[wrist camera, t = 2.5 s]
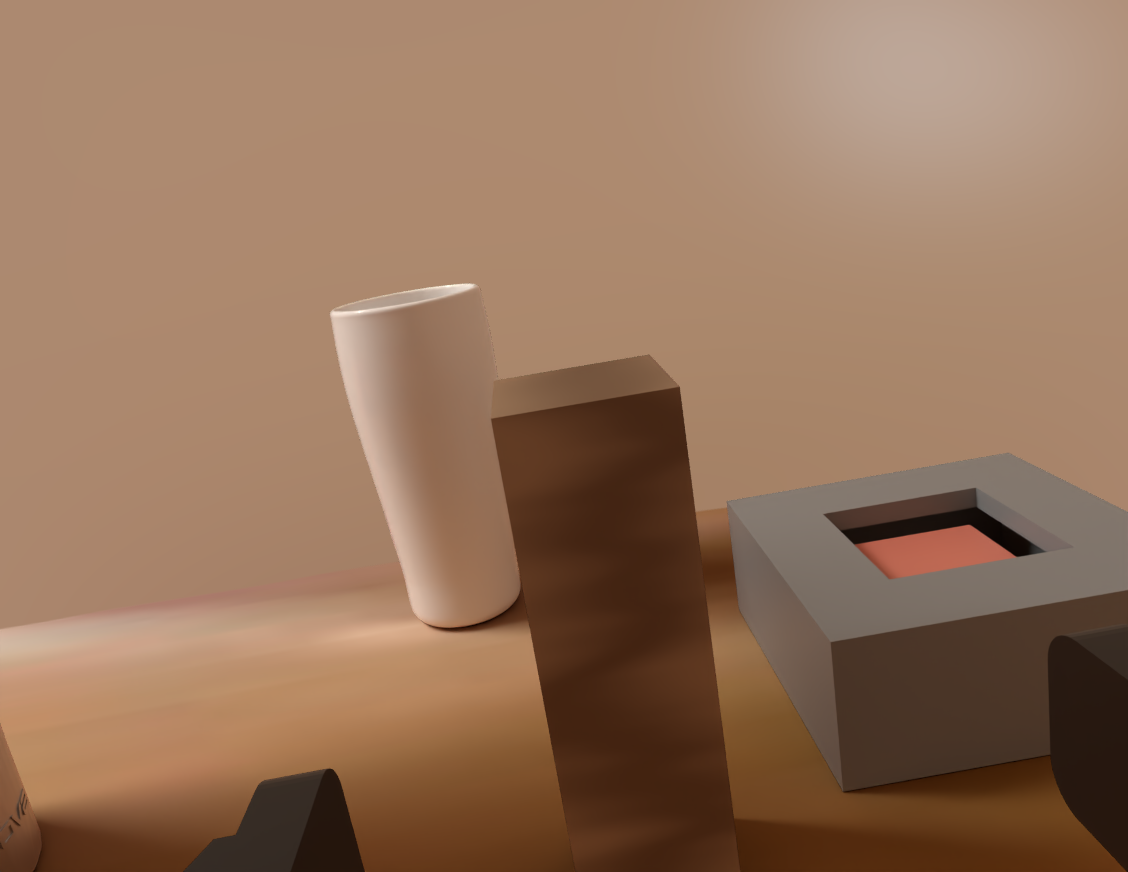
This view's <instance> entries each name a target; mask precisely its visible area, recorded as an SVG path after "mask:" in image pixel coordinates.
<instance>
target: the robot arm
mask: <svg viewBox="0 0 1128 872" xmlns="http://www.w3.org/2000/svg"><path fill="white" fill-rule="evenodd" d="M1048 690H1049V724H1050V755H1051V764H1052V769H1053V773H1054V777H1055V779H1056V782H1057V785H1058V787H1059V790H1060V792H1061V794H1062V796H1063V798H1064V800H1065V802H1066V804H1067V805H1068V807H1069V808H1070V810H1071V811H1072V813H1073V814H1074V815H1075V817H1076V818H1077V819H1078V820H1079V821H1080V822H1081V823H1082V824H1083V825H1084V827H1085V828H1086V829H1087V830H1088V831H1089V832H1090V833H1091V834H1092V835H1093V836H1094V837H1095V838H1096V839H1097V840H1098V841H1099V842H1100V843H1101V845H1102V846H1103V847H1104V848H1105V849H1106V850H1107V851H1108V852H1109V853H1110V854H1111V855H1112V856H1113V857H1114V858H1115V859H1116V860H1117V861H1118V863H1119V864H1120V865H1121V866H1122V867H1123V868H1124V869H1125V870H1126V871H1127V872H1128V624H1119V625H1114V626H1108V627H1103V628H1097V629H1092V630H1087V631H1081V632H1076V633H1070V634H1065V635H1060V636H1057V637H1055V638H1054V639H1053V640H1052V641H1051V643H1050V646H1049V649H1048ZM41 848H42V840H41V831H40V828H39V826H38V823H37V821H36V818H35V815H34V813H33V810H32V807H31V805H30V802H29V800H28V797H27V794H26V792H25V789H24V786H23V784H22V781H21V778H20V776H19V773H18V771H17V768H16V765H15V763H14V760H13V757H12V755H11V752H10V750H9V747H8V744H7V742H6V739H5V736H4V732H3V730H2V727H1V725H0V872H33V870H34V869H35V867H36V865H37V862H38V859H39V855H40V852H41ZM183 872H365V871H364V867H363V864H362V860H361V856H360V853H359V849H358V845H357V841H356V838H355V834H354V830H353V827H352V823H351V819H350V816H349V812H348V808H347V804H346V801H345V797H344V793H343V790H342V786H341V783H340V780H339V778H338V776H337V774H336V773H335V771H334V770H333V769H323V770H318V771H313V772H307V773H302V774H296V775H291V776H286V777H280V778H275V779H269V780H264V781H262V782H261V783H260V784H259V785H258V787H257V789H256V790H255V793H254V795H253V797H252V799H251V802H250V804H249V806H248V808H247V811H246V813H245V815H244V817H243V820H242V822H241V824H240V826H239V829H238V831H237V833H236V835H234V836H228V837H223V838H218V839H214V840H213V841H212V842H211V843H210V844H209V845H208V846H207V847H206V848H205V849H204V850H203V851H202V852H201V853H200V855H199V856H198V857H197V858H196V859H195V860H194V861H193V862H192V863H191V864H190V865H189V866H188V867H187V868H186V869H185V870H184V871H183Z"/></svg>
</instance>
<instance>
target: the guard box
mask: <svg viewBox="0 0 1128 872" xmlns="http://www.w3.org/2000/svg"><path fill="white" fill-rule="evenodd" d="M727 508H728V517H729V526H730V534H731V543H732V552H733V561H734V569H735V578H736V587H737V596H738V604H739V610H740V612H741V614H742V615H743V617H744V619H745V621H746V622H747V624H748V626H749V628H750V629H751V631H752V633H753V635H754V636H755V638H756V640H757V642H758V643H759V645H760V647H761V649H762V650H763V652H764V654H765V656H766V657H767V659H768V661H769V663H770V664H771V666H772V668H773V670H774V671H775V673H776V675H777V677H778V678H779V680H780V682H781V684H782V685H783V687H784V689H785V691H786V692H787V694H788V696H789V698H790V699H791V701H792V703H793V705H794V706H795V708H796V710H797V712H798V713H799V715H800V717H801V719H802V720H803V722H804V724H805V726H806V727H807V729H808V731H809V733H810V734H811V736H812V738H813V740H814V741H815V743H816V745H817V747H818V748H819V750H820V752H821V754H822V755H823V757H824V759H825V761H826V762H827V764H828V766H829V768H830V769H831V771H832V773H833V775H834V776H835V778H836V780H837V782H838V783H839V785H840V787H841V789H842V790H843V792H844V791H849V790H855V789H861V788H866V787H872V786H877V785H883V784H888V783H894V782H900V781H905V780H911V779H916V778H922V777H928V776H933V775H939V774H944V773H950V772H955V771H961V770H967V769H972V768H978V767H983V766H989V765H995V764H1000V763H1006V762H1011V761H1017V760H1022V759H1028V758H1034V757H1039V756H1045V755H1050V724H1049V690H1048V649H1049V646H1050V643H1051V641H1052V640H1053V639H1054V638H1055V637H1057V636H1060V635H1065V634H1070V633H1076V632H1081V631H1087V630H1092V629H1097V628H1103V627H1108V626H1114V625H1119V624H1128V512H1127V511H1125V510H1123V509H1121V508H1119V507H1117V506H1115V505H1113V504H1110V503H1109V502H1107V501H1105V500H1103V499H1101V498H1099V497H1097V496H1095V495H1093V494H1091V493H1088V492H1087V491H1085V490H1082V489H1080V488H1078V487H1076V486H1074V485H1072V484H1070V483H1068V482H1066V481H1064V480H1062V479H1060V478H1058V477H1056V476H1054V475H1052V474H1050V473H1048V472H1046V471H1044V470H1042V469H1040V468H1038V467H1036V466H1034V465H1032V464H1030V463H1028V462H1026V461H1024V460H1022V459H1020V458H1018V457H1016V456H1014V455H1012V454H1010V453H1005V454H999V455H993V456H987V457H981V458H976V459H970V460H964V461H958V462H953V463H947V464H941V465H936V466H929V467H923V468H917V469H912V470H906V471H900V472H894V473H889V474H883V475H877V476H871V477H865V478H860V479H854V480H848V481H842V482H836V483H830V484H824V485H819V486H813V487H807V488H801V489H795V490H789V491H784V492H778V493H772V494H766V495H760V496H755V497H749V498H743V499H737V500H731V501H727ZM965 525H971V526H972V527H974V528H975V529H977V530H978V531H980V532H981V533H982V534H984V535H985V536H987V537H988V538H990V539H991V540H993V541H994V542H995V543H997V544H998V545H1000V546H1001V547H1003V548H1004V549H1006V550H1007V551H1008V552H1010V553H1011V554H1013V555H1014V556H1016V558H1010V559H1004V560H998V561H993V562H987V563H981V564H976V565H970V566H964V567H958V568H953V569H947V570H941V571H935V572H930V573H924V574H918V575H912V576H907V577H901V578H895V579H888V578H887V577H886V576H885V575H884V574H883V573H882V572H881V571H880V570H879V569H878V568H877V567H876V566H875V565H874V564H873V563H872V562H871V561H870V560H869V559H868V558H867V557H866V556H865V555H864V554H863V553H862V552H861V551H860V550H859V549H858V548H857V547H856V546H855V544H861V543H867V542H873V541H879V540H884V539H890V538H896V537H902V536H907V535H913V534H919V533H925V532H930V531H936V530H942V529H948V528H953V527H959V526H965Z"/></svg>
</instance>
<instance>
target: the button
mask: <svg viewBox="0 0 1128 872" xmlns="http://www.w3.org/2000/svg"><path fill="white" fill-rule="evenodd" d="M855 546H856V547H857V548H858V549H859V550H860V551H861V552H862V553H863V554H864V555H865V556H866V557H867V558H868V559H869V560H870V561H871V562H872V563H873V564H874V565H875V566H876V567H877V568H878V569H879V570H880V571H881V572H882V573H883V574H884V575H885V576H886V577H887V578H888V579H895V578H901V577H907V576H912V575H918V574H924V573H930V572H935V571H941V570H947V569H953V568H958V567H964V566H970V565H976V564H981V563H987V562H993V561H998V560H1004V559H1010V558H1016V556H1014V555H1013V554H1011V553H1010V552H1008V551H1007V550H1006V549H1004V548H1003V547H1001V546H1000V545H998V544H997V543H995V542H994V541H993V540H991V539H990V538H988V537H987V536H985V535H984V534H982V533H981V532H980V531H978V530H977V529H975V528H974V527H972V526H971V525H965V526H959V527H953V528H948V529H942V530H936V531H930V532H925V533H919V534H913V535H907V536H902V537H896V538H890V539H884V540H879V541H873V542H867V543H861V544H855Z"/></svg>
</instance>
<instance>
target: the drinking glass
mask: <svg viewBox="0 0 1128 872" xmlns="http://www.w3.org/2000/svg"><path fill="white" fill-rule="evenodd" d="M330 317H331V322H332V328H333V333H334V339H335V345H336V350H337V356H338V360H339V365H340V370H341V374H342V379H343V383H344V387H345V390H346V394H347V398H348V402H349V406H350V409H351V412H352V416H353V419H354V422H355V425H356V428H357V431H358V435H359V438H360V441H361V444H362V447H363V450H364V453H365V456H366V459H367V462H368V465H369V468H370V471H371V475H372V478H373V481H374V483H375V486H376V490H377V493H378V496H379V499H380V502H381V505H382V508H383V512H384V514H385V518H386V521H387V524H388V527H389V530H390V533H391V536H392V540H393V543H394V546H395V549H396V552H397V555H398V559H399V562H400V565H401V568H402V572H403V575H404V578H405V583H406V587H407V592H408V596H409V600H410V604H411V608H412V610H413V612H414V614H415V615H416V617H417V618H418V619H420V620H421V621H422V622H424V623H426V624H429V625H432V626H436V627H444V628H455V627H464V626H470V625H474V624H478V623H481V622H484V621H487V620H489V619H492V618H494V617H496V616H498V615H499V614H501V613H503V612H504V611H506V610H507V609H508V608H509V607H511V606H512V604H513V603H514V602H515V601H516V599H517V598H518V596H519V593H520V588H521V583H520V575H519V570H518V564H517V559H516V554H515V546H514V541H513V535H512V530H511V524H510V519H509V514H508V508H507V503H506V498H505V492H504V487H503V482H502V476H501V471H500V466H499V460H498V455H497V450H496V444H495V439H494V434H493V428H492V423H491V408H492V395H493V382H494V381H495V380H498V375H497V368H496V361H495V355H494V349H493V344H492V339H491V333H490V329H489V324H488V320H487V315H486V311H485V307H484V302H483V298H482V294H481V289H480V287H479V286H478V285H476V284H455V285H446V286H438V287H430V288H423V289H417V290H411V291H405V292H399V293H394V294H389V295H384V296H379V297H374V298H370V299H365V300H361V301H357V302H353V303H349V304H346V305H343V306H340V307H337V308H335V309H333V310H332V311H331V312H330Z"/></svg>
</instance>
